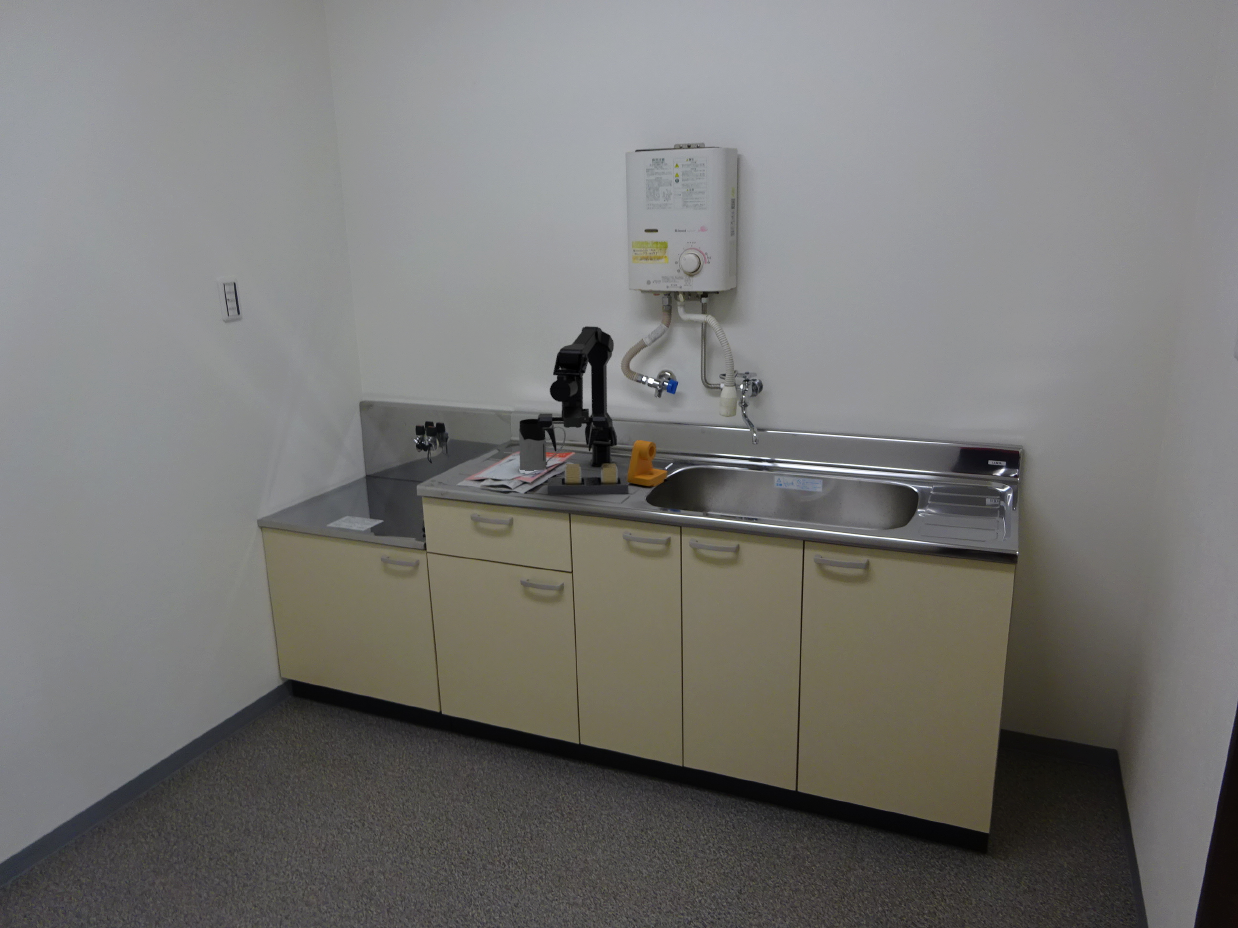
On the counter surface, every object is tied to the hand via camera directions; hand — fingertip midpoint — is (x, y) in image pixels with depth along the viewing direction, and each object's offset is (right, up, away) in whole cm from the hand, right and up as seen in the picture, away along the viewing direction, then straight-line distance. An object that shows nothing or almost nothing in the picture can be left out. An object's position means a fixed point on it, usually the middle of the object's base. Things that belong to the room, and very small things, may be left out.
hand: (572, 451), depth 239 cm
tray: (+4, -11, +3) cm, 12 cm away
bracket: (+21, -9, +11) cm, 26 cm away
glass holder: (-10, -6, +22) cm, 25 cm away
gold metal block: (0, -11, +3) cm, 11 cm away
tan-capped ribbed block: (+10, -11, +4) cm, 15 cm away
